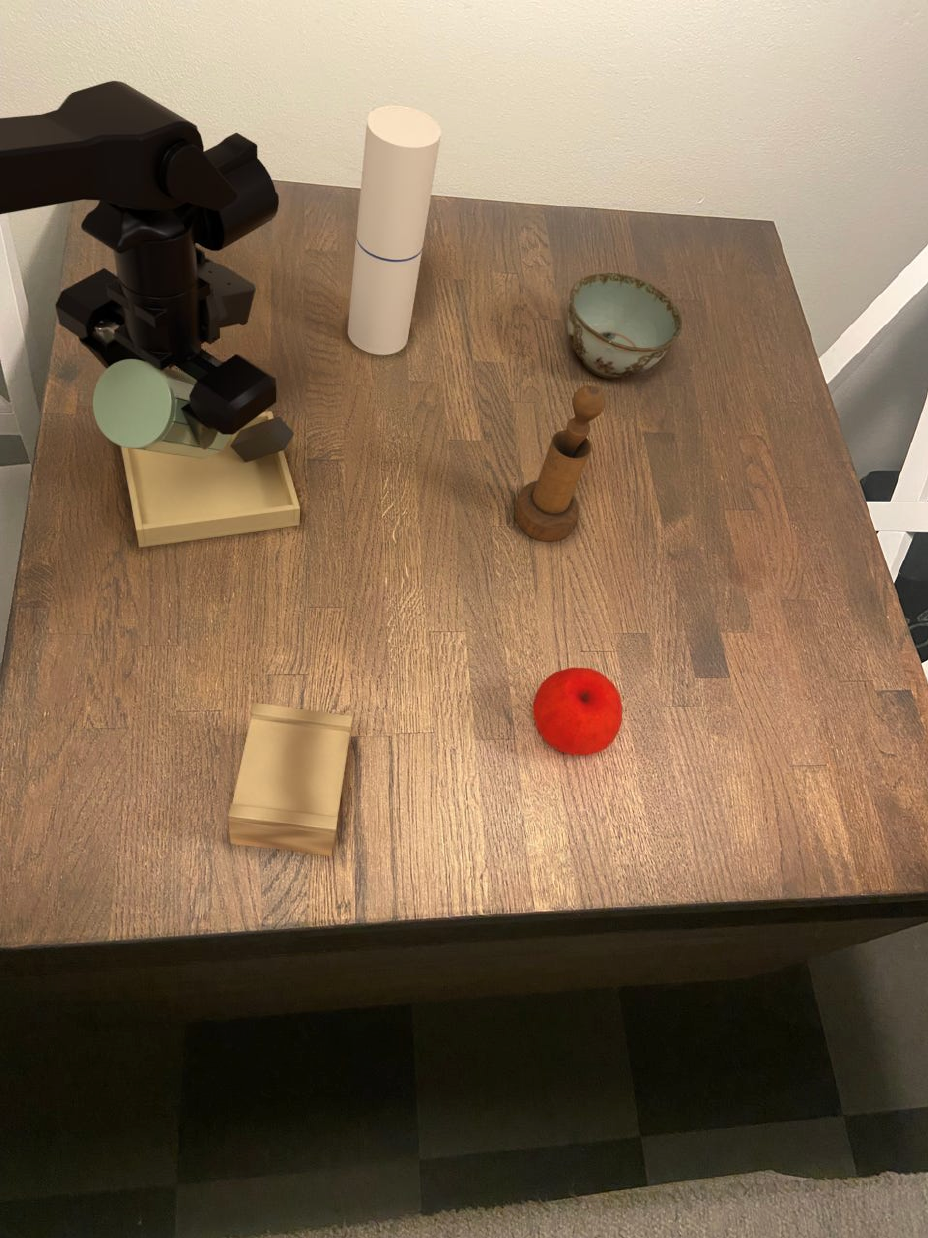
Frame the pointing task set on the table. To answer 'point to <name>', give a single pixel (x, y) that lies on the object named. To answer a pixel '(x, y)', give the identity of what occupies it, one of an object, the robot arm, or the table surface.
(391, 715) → the table surface
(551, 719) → the apple
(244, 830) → the wooden block
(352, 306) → the cylindrical container
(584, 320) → the bowl
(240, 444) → the black block
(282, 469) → the tray
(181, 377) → the grooved sage-green cylinder
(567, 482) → the mortar and pestle
